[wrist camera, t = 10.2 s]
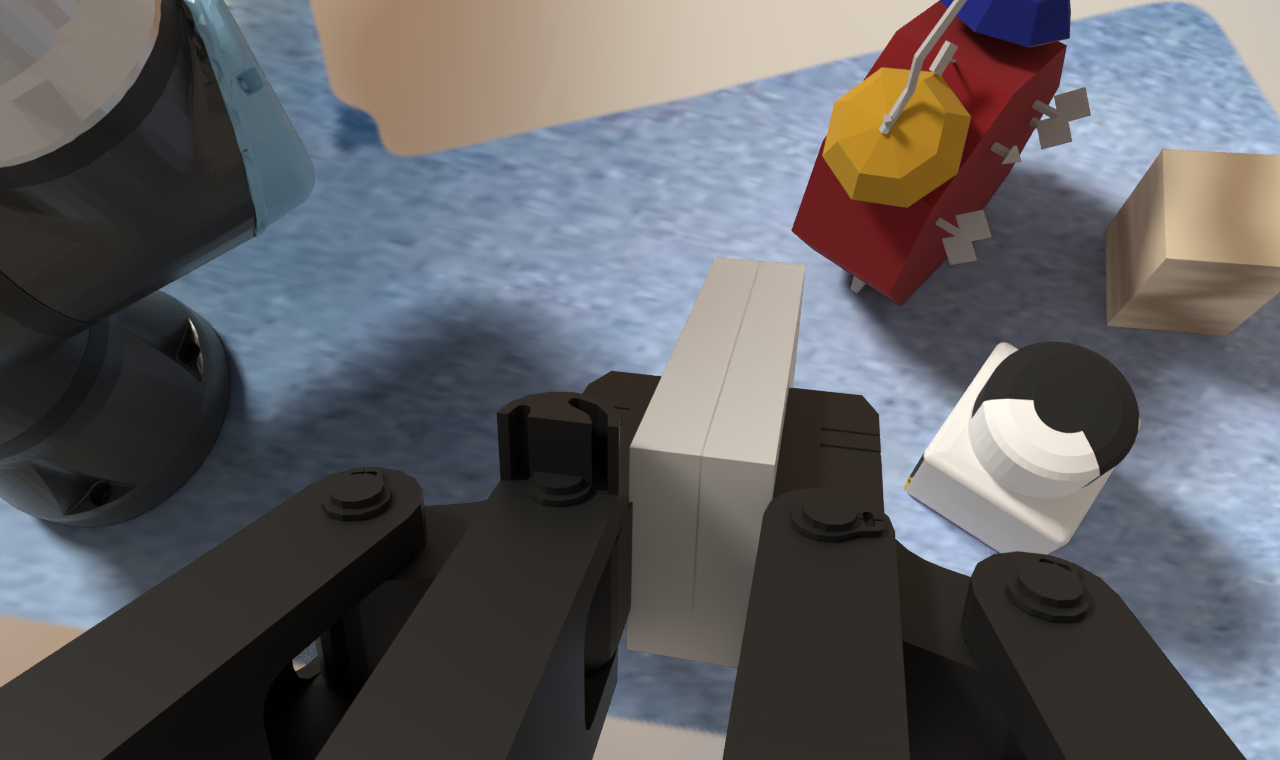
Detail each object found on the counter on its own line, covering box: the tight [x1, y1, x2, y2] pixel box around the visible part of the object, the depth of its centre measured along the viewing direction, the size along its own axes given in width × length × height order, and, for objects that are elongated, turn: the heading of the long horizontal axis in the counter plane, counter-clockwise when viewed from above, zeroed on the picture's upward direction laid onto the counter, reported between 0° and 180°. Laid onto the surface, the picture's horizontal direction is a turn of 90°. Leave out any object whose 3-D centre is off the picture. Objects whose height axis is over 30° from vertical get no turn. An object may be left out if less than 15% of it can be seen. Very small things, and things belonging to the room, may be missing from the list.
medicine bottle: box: [904, 342, 1141, 555], centre depth 42 cm, size 7×7×12 cm
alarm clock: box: [791, 0, 1091, 306], centre depth 43 cm, size 15×9×20 cm, turn 139°
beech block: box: [1106, 149, 1280, 336], centre depth 46 cm, size 6×6×8 cm
